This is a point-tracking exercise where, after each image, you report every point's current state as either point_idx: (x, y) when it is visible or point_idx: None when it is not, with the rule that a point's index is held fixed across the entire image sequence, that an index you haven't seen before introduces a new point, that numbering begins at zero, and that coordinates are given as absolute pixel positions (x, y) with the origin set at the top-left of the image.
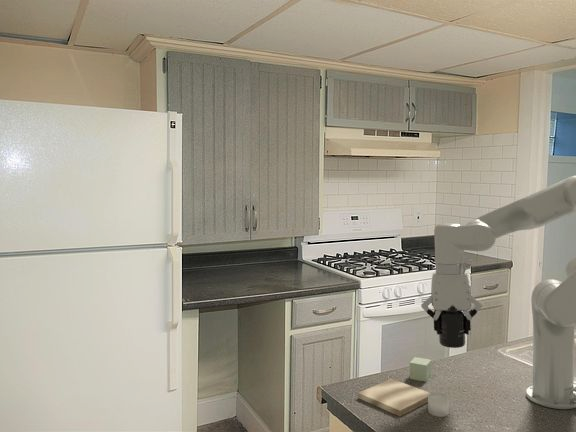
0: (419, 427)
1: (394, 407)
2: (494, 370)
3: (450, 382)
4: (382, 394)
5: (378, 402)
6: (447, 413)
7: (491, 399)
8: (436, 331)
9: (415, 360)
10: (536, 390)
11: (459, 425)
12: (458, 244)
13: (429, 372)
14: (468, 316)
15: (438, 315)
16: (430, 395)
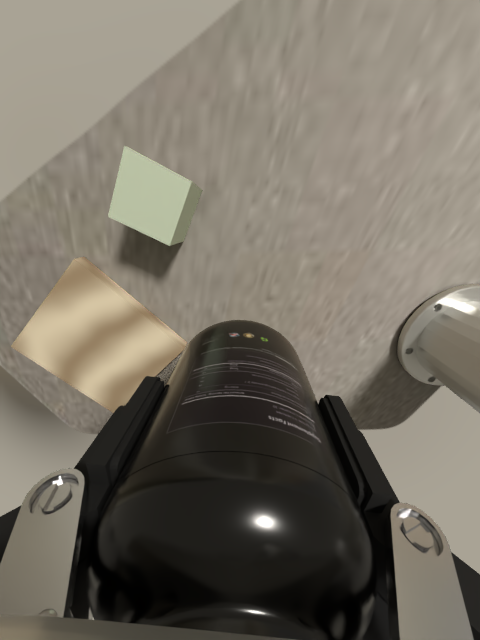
0: None
1: (103, 403)
2: (432, 130)
3: (249, 244)
4: (69, 353)
5: (68, 381)
6: None
7: (315, 339)
8: (148, 377)
9: (129, 191)
10: (426, 357)
11: None
12: None
13: (190, 211)
14: (381, 604)
15: (86, 594)
16: None
